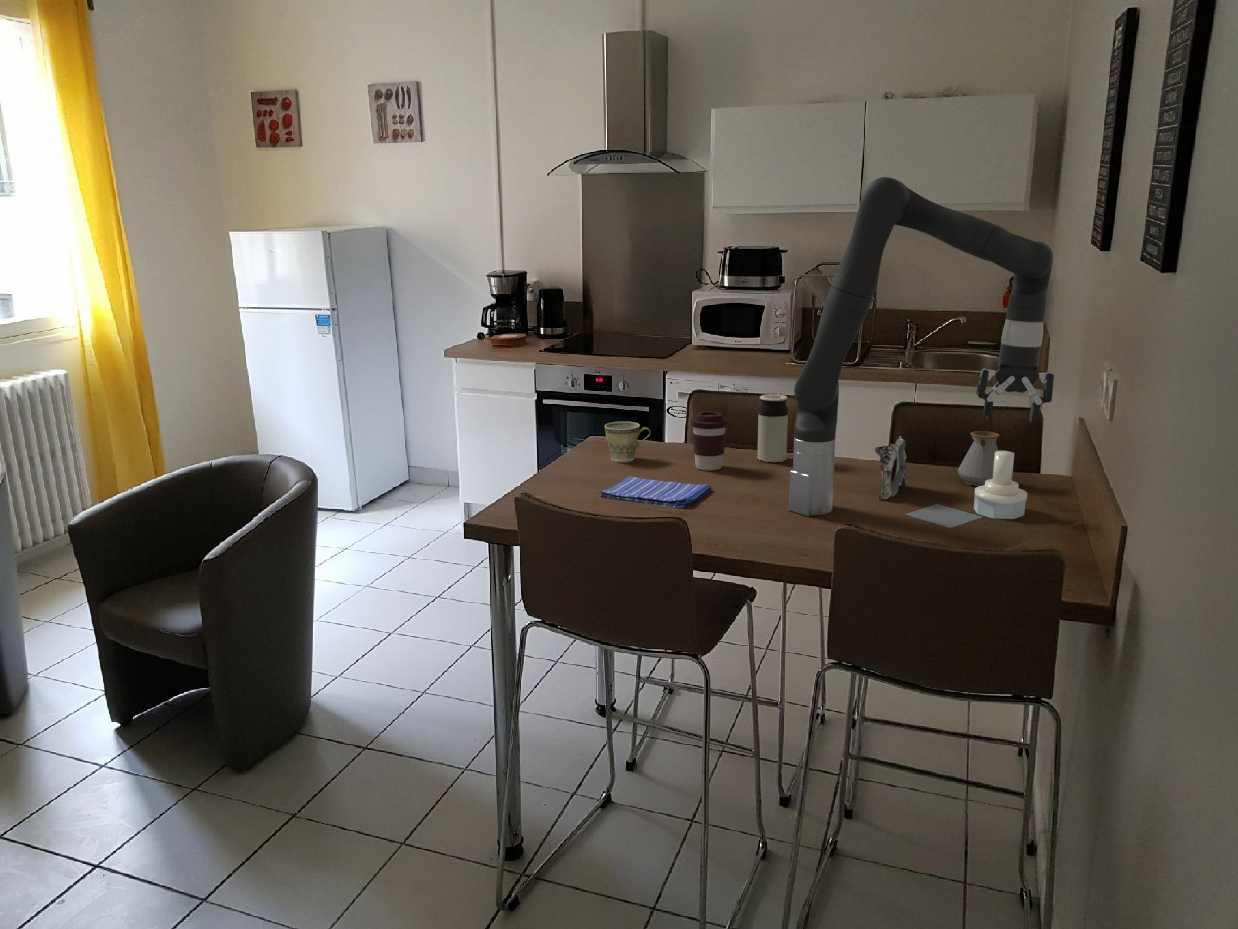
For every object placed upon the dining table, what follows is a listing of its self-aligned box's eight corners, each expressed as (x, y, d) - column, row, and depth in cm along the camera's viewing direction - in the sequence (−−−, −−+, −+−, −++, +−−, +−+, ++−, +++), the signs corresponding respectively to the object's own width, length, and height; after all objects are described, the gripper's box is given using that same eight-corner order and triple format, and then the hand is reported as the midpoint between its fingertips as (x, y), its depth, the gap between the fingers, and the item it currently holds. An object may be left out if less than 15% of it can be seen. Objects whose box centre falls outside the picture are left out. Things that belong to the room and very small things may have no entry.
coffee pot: (958, 475, 239) (963, 419, 235) (1006, 479, 234) (1012, 422, 230) (951, 498, 220) (956, 437, 216) (1002, 503, 215) (1008, 441, 211)
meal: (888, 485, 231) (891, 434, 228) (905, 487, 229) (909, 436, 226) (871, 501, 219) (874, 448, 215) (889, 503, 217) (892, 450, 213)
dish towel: (687, 511, 215) (687, 500, 214) (598, 499, 226) (597, 488, 225) (713, 492, 230) (713, 481, 229) (629, 481, 240) (628, 471, 240)
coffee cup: (690, 463, 255) (690, 410, 251) (725, 462, 255) (726, 409, 251) (691, 472, 245) (691, 417, 241) (728, 472, 245) (729, 417, 241)
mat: (950, 529, 198) (950, 527, 198) (904, 515, 208) (904, 514, 207) (982, 518, 205) (983, 516, 205) (936, 505, 214) (937, 504, 214)
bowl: (1005, 523, 201) (1007, 505, 200) (965, 512, 209) (967, 495, 208) (1031, 514, 207) (1033, 497, 206) (991, 503, 215) (992, 487, 214)
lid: (1009, 507, 200) (1013, 462, 197) (964, 495, 208) (968, 452, 205) (1036, 497, 206) (1041, 453, 203) (992, 486, 214) (996, 444, 212)
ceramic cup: (604, 464, 255) (603, 429, 253) (606, 455, 265) (605, 421, 262) (650, 464, 255) (650, 429, 252) (650, 455, 264) (650, 421, 262)
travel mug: (764, 464, 252) (765, 400, 247) (753, 457, 259) (754, 395, 255) (791, 462, 254) (793, 398, 249) (779, 455, 261) (781, 393, 257)
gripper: (987, 343, 184) (976, 421, 188) (1063, 347, 181) (1050, 426, 185) (981, 338, 191) (971, 414, 195) (1054, 341, 188) (1042, 418, 193)
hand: (1010, 420), depth 190 cm, fingers open, 8 cm apart
